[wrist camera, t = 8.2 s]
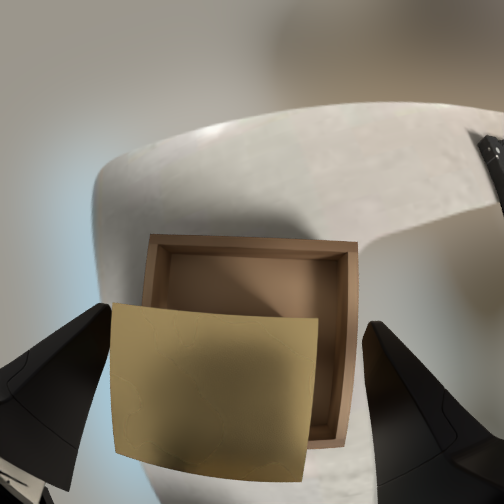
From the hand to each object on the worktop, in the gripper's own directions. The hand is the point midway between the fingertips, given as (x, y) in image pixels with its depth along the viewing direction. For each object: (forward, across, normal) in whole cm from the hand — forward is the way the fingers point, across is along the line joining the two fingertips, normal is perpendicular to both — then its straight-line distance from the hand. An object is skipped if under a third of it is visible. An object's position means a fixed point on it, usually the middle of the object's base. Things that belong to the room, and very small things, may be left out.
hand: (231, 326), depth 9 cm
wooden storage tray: (+6, 0, +8) cm, 11 cm away
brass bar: (+5, 0, +7) cm, 8 cm away
